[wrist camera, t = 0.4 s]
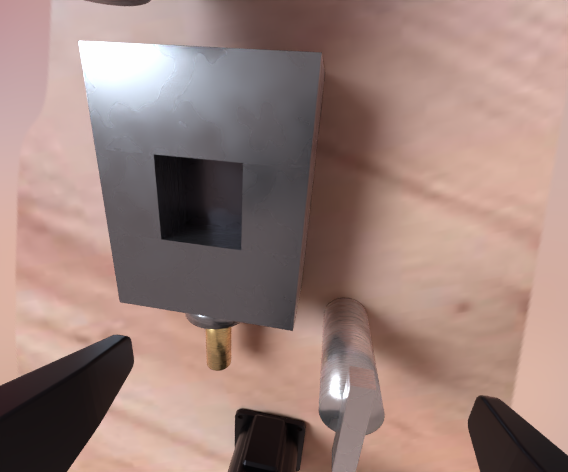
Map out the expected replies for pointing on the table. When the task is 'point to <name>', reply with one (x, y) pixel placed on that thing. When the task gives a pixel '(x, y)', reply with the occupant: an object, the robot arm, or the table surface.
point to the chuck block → (206, 178)
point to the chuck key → (348, 381)
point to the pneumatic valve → (121, 2)
